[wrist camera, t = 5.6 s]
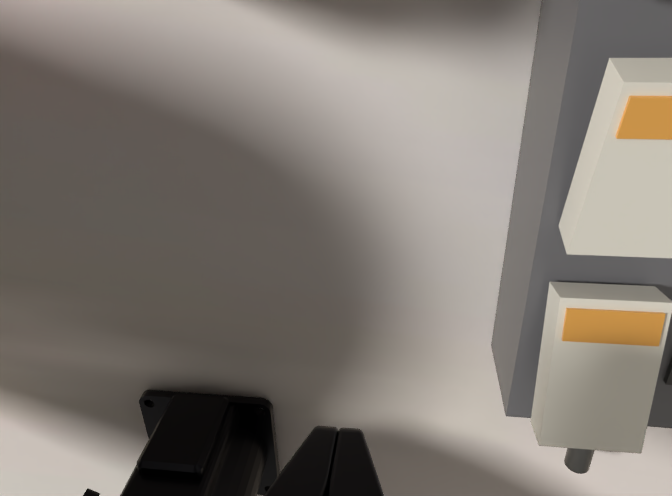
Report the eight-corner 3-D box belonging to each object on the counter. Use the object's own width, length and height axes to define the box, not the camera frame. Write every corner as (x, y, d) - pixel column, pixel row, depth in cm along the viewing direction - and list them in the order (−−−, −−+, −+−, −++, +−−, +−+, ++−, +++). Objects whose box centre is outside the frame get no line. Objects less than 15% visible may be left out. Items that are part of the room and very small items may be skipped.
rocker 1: (668, 229, 15) (685, 261, 14) (558, 225, 16) (567, 257, 15) (752, 57, 12) (781, 84, 11) (608, 57, 12) (624, 84, 11)
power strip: (660, 443, 24) (704, 530, 21) (478, 430, 25) (490, 511, 22) (948, -323, 12) (1173, -437, 9) (585, -297, 13) (651, -390, 10)
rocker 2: (625, 428, 18) (642, 455, 16) (530, 421, 18) (539, 447, 17) (654, 286, 16) (675, 304, 15) (549, 281, 16) (561, 298, 15)
